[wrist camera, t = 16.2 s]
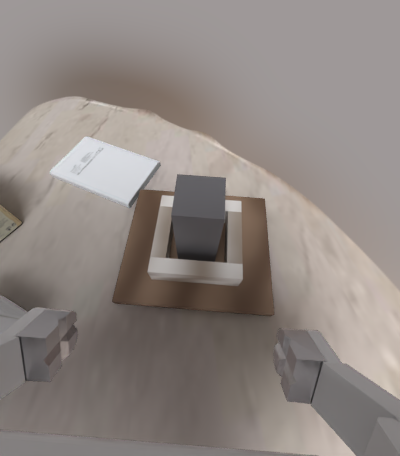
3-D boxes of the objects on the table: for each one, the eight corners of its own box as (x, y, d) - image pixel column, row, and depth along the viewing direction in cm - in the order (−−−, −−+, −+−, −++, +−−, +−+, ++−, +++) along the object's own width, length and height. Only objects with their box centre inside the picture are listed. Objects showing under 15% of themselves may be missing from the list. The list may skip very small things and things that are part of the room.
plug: (178, 259, 25) (171, 215, 17) (182, 227, 27) (177, 174, 19) (214, 262, 25) (224, 219, 17) (216, 229, 27) (225, 177, 19)
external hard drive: (130, 211, 30) (54, 179, 32) (161, 168, 33) (90, 142, 35) (127, 203, 28) (47, 171, 30) (159, 160, 32) (86, 133, 34)
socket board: (114, 303, 23) (103, 295, 20) (141, 194, 30) (135, 176, 27) (271, 315, 23) (283, 310, 20) (262, 203, 30) (270, 185, 27)
